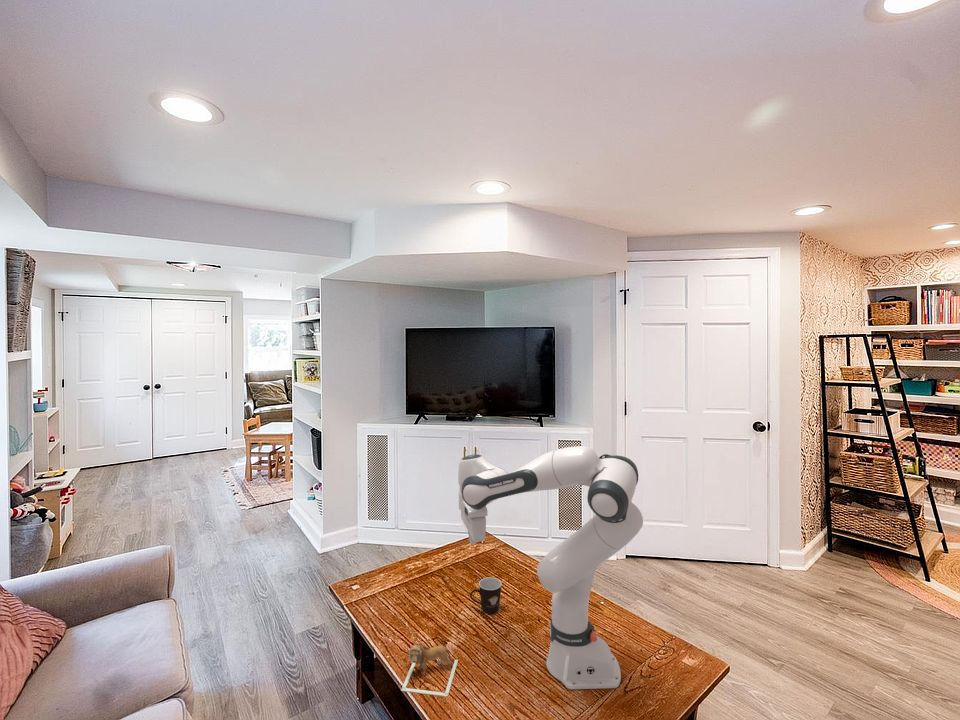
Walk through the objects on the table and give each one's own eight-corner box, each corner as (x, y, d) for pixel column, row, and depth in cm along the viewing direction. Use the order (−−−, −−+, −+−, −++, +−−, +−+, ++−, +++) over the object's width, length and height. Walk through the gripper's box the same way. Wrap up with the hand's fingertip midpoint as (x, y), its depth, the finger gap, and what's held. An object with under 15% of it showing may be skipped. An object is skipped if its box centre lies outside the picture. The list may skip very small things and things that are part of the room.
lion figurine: (411, 682, 135) (410, 653, 134) (406, 669, 140) (406, 642, 139) (457, 667, 141) (456, 640, 140) (451, 656, 146) (451, 629, 145)
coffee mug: (502, 602, 174) (502, 577, 173) (501, 616, 165) (501, 590, 165) (472, 601, 175) (472, 576, 175) (469, 615, 167) (469, 589, 166)
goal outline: (458, 660, 144) (458, 659, 144) (447, 696, 129) (447, 696, 129) (415, 655, 146) (415, 654, 146) (400, 690, 131) (400, 690, 131)
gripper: (456, 493, 160) (456, 531, 161) (469, 515, 141) (470, 558, 141) (473, 491, 162) (474, 529, 163) (489, 512, 142) (489, 555, 143)
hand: (472, 542), depth 152 cm, fingers closed
